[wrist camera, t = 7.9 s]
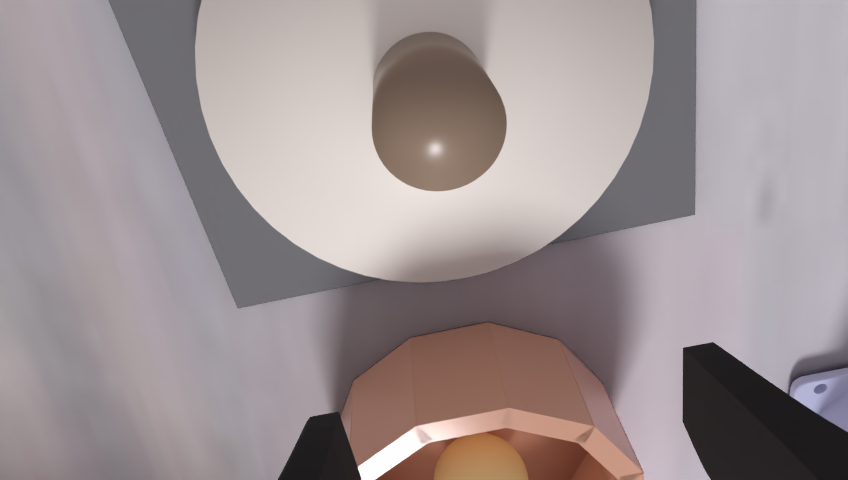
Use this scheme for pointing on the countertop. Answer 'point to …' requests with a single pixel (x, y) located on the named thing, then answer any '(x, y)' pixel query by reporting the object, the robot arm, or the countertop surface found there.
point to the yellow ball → (480, 460)
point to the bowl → (485, 407)
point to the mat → (305, 273)
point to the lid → (423, 122)
